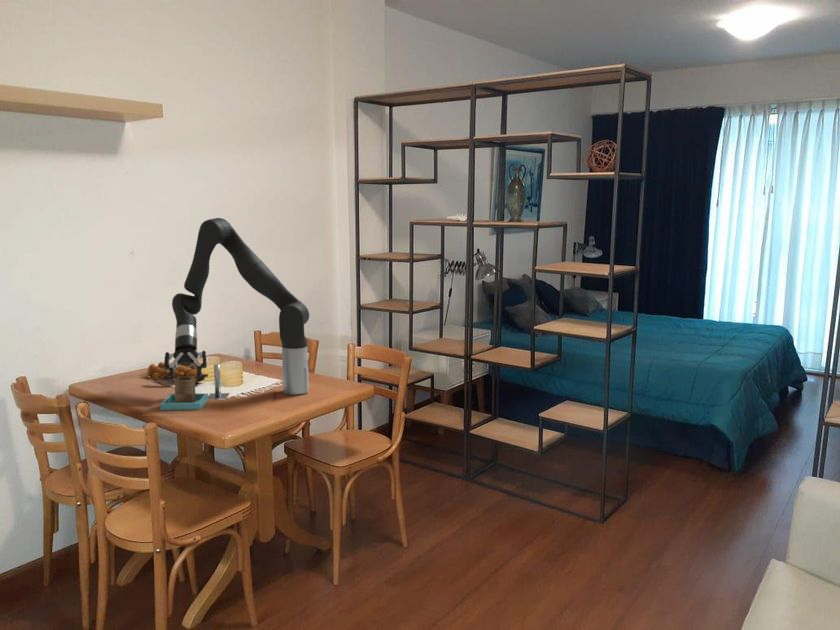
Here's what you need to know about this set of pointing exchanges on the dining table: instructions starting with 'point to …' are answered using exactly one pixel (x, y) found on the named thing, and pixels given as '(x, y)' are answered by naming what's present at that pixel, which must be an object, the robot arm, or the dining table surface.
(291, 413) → the dining table surface
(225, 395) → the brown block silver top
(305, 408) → the dining table surface
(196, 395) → the tray
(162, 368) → the toy
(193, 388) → the sleeve
